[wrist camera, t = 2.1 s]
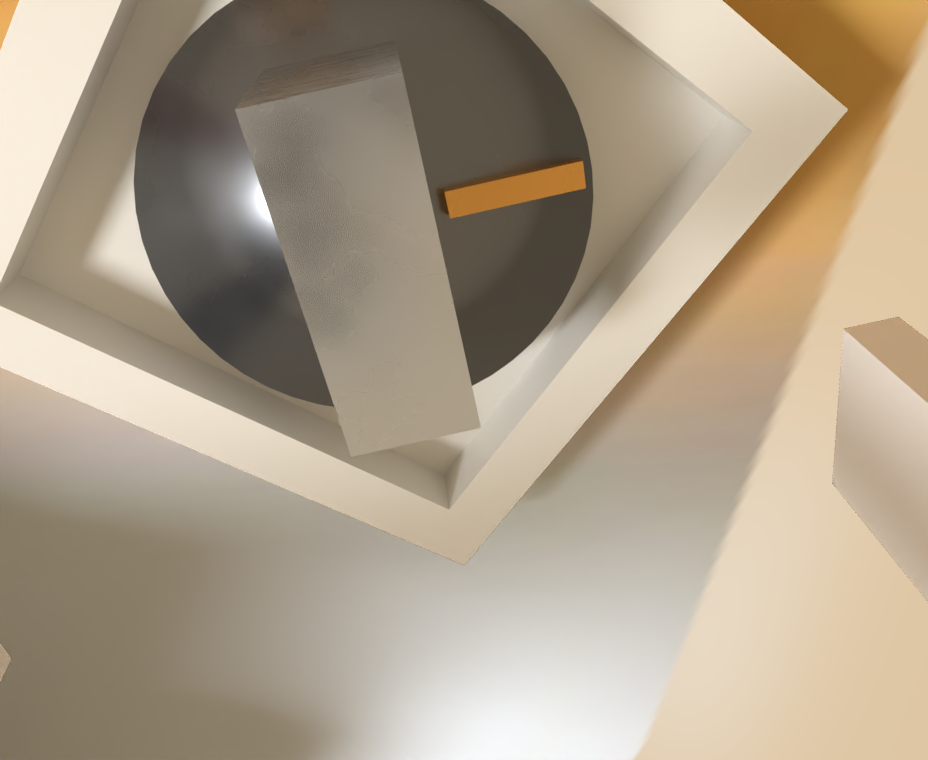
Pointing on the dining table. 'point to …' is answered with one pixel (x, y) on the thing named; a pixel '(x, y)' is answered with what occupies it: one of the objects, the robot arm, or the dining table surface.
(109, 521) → the dining table surface
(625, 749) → the dining table surface
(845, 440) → the robot arm
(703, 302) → the dining table surface
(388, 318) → the dial
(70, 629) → the dining table surface
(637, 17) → the dial housing
